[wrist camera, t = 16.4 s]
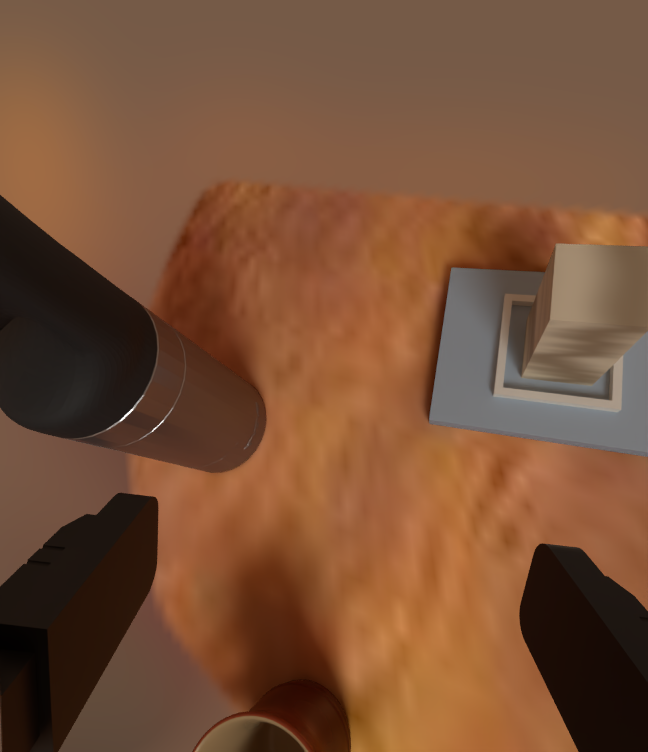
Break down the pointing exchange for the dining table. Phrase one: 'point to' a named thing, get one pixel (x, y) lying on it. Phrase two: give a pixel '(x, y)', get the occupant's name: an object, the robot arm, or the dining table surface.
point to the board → (520, 395)
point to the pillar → (586, 312)
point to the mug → (284, 723)
